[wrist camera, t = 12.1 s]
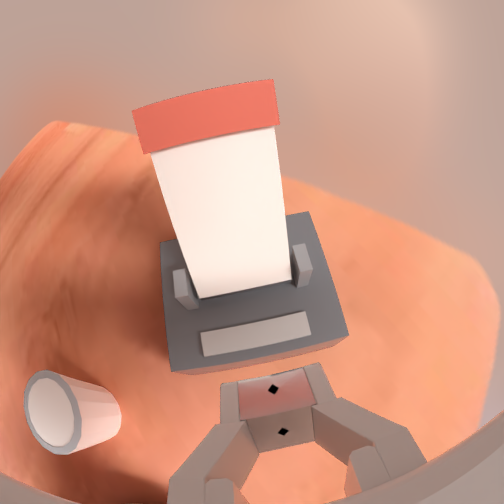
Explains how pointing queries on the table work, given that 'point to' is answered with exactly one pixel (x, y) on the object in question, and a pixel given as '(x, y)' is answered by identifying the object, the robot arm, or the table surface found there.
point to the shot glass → (69, 412)
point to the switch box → (252, 311)
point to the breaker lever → (222, 184)
